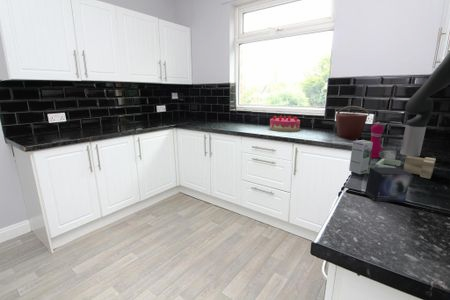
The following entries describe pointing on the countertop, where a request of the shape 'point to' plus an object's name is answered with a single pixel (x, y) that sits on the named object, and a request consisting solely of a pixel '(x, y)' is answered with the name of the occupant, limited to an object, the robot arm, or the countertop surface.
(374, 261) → the countertop surface
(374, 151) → the pepper mill
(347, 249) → the countertop surface
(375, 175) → the small box
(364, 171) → the syrup box
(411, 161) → the tee block
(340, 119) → the bucket
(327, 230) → the countertop surface
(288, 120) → the cake
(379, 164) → the pocket
